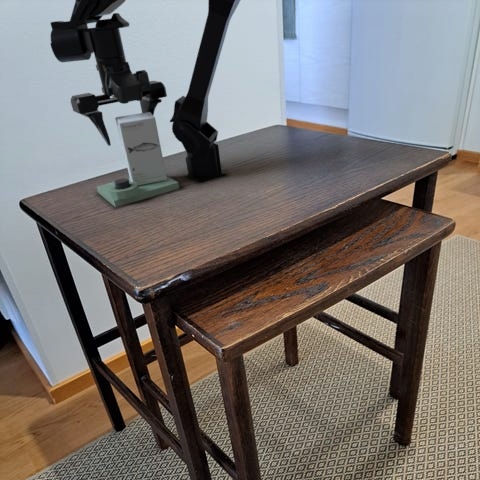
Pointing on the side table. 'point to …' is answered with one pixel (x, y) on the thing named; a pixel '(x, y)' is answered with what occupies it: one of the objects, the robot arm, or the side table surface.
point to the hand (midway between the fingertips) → (129, 140)
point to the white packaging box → (141, 148)
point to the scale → (135, 191)
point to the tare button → (122, 183)
